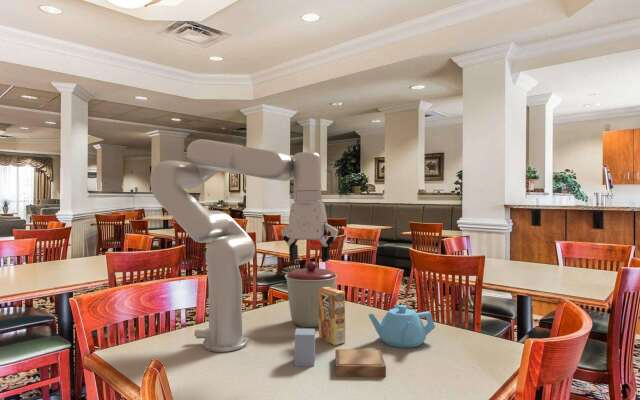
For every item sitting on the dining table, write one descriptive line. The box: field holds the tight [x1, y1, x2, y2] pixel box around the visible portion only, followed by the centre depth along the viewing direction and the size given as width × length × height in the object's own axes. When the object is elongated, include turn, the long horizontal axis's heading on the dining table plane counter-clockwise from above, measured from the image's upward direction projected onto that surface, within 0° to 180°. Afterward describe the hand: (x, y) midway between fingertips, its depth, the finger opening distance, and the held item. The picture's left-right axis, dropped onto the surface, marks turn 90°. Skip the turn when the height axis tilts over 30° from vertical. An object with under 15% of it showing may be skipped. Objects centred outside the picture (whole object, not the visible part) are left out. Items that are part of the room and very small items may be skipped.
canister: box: [284, 261, 339, 328], centre depth 144 cm, size 18×18×21 cm
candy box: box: [318, 287, 346, 346], centre depth 127 cm, size 9×4×15 cm, turn 33°
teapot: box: [367, 304, 436, 349], centre depth 126 cm, size 15×15×11 cm
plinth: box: [334, 348, 387, 378], centre depth 106 cm, size 12×11×3 cm
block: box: [294, 328, 316, 367], centre depth 110 cm, size 5×5×8 cm
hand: (309, 260), depth 114 cm, fingers open, 9 cm apart
